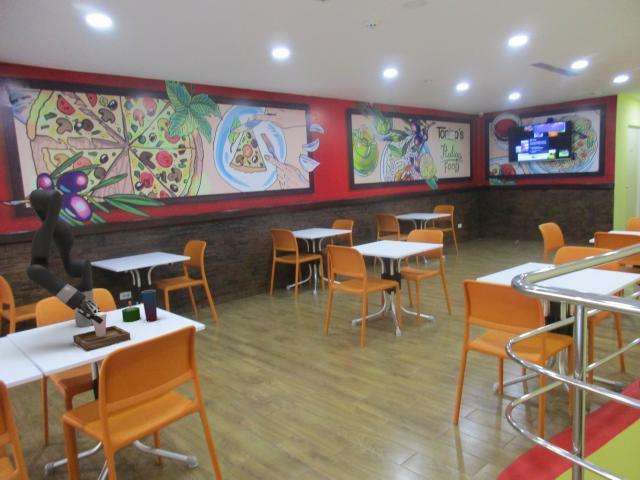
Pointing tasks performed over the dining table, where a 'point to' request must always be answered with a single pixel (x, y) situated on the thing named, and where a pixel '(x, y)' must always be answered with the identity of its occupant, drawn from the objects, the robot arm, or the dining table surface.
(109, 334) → the tray
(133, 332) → the dining table surface
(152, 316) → the cup
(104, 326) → the smoothie
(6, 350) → the dining table surface
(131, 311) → the candle
